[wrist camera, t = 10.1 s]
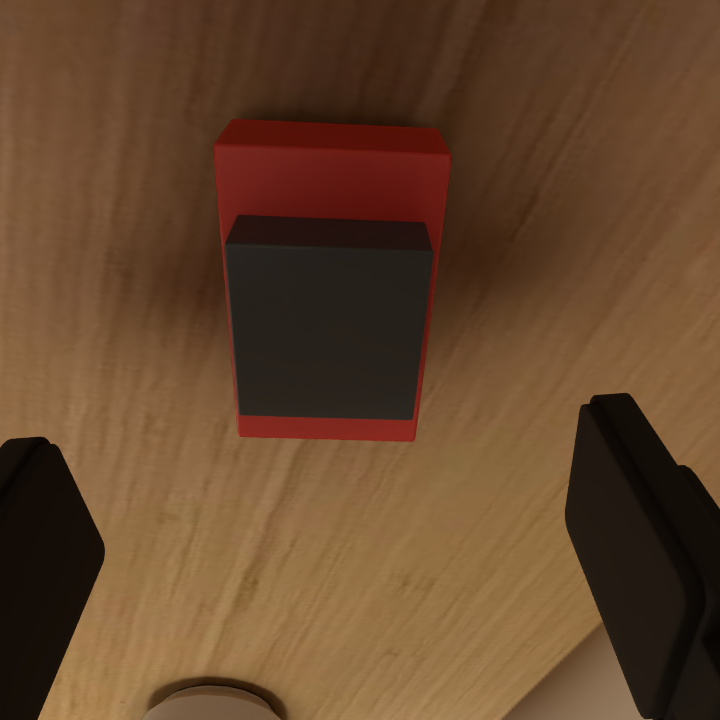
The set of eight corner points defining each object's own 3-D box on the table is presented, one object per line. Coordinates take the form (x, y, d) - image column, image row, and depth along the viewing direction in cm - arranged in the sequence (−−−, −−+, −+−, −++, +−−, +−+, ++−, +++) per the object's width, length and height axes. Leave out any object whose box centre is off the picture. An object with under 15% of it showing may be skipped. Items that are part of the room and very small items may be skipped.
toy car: (435, 120, 15) (236, 110, 15) (465, 177, 11) (194, 165, 11) (406, 377, 20) (253, 372, 19) (420, 484, 16) (227, 479, 15)
